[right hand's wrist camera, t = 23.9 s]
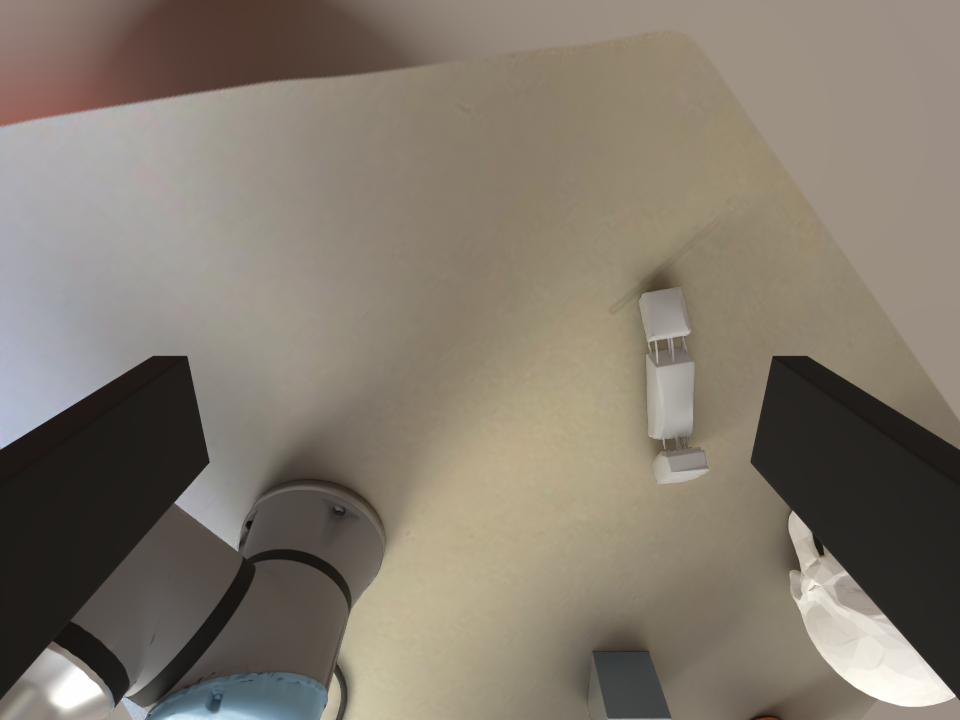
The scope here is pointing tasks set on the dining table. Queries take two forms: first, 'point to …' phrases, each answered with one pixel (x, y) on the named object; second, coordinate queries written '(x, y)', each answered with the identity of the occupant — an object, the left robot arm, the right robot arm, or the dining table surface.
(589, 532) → the dining table surface
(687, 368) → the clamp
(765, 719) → the cup with straw
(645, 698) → the blue gray block
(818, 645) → the skull
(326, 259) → the dining table surface
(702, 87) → the dining table surface
